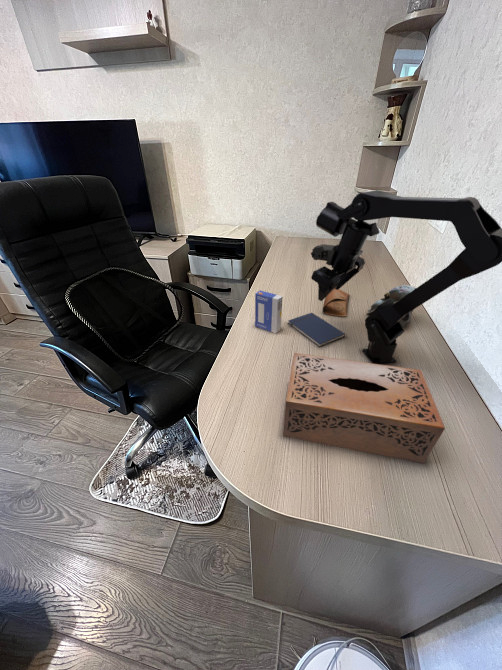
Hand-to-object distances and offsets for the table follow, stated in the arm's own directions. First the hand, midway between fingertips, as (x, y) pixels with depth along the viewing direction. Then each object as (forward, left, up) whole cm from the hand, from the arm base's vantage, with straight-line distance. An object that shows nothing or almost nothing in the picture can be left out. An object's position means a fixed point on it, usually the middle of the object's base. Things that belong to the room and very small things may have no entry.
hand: (328, 294), depth 80 cm
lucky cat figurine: (+2, -25, -12) cm, 28 cm away
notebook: (0, +2, -12) cm, 12 cm away
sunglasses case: (+15, -12, -12) cm, 23 cm away
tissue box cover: (-34, +8, -12) cm, 37 cm away
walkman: (+4, +17, -12) cm, 21 cm away
